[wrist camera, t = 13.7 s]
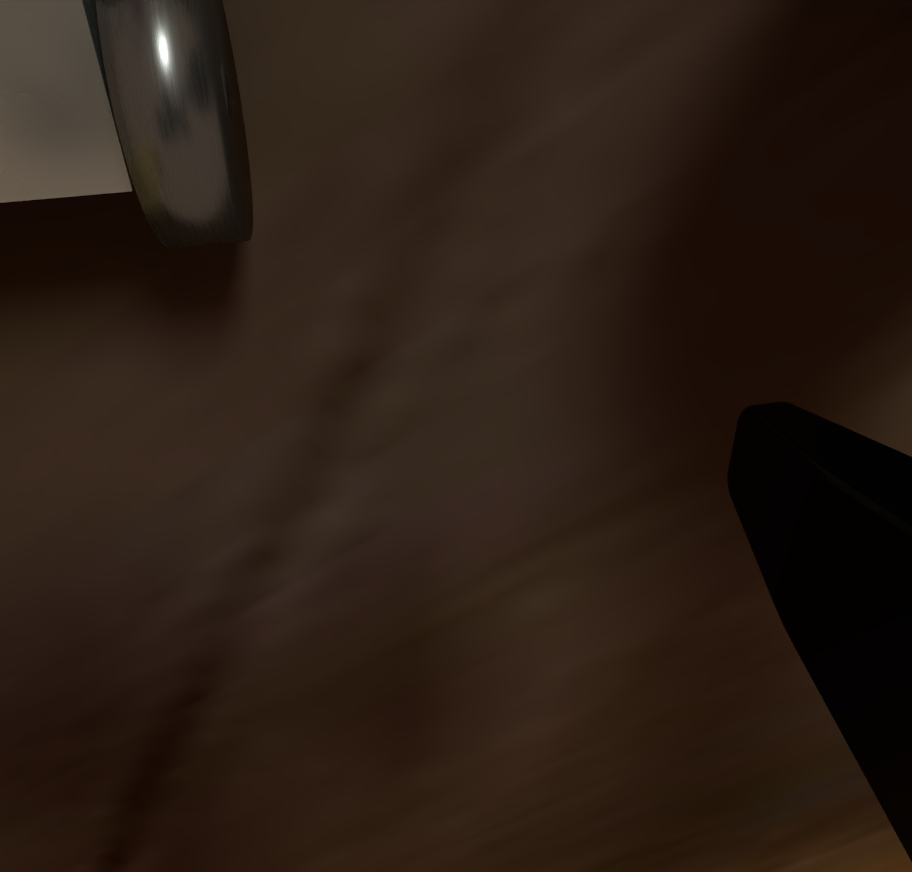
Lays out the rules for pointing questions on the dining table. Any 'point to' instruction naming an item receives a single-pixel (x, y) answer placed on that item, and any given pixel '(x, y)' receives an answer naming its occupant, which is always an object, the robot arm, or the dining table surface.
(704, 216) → the dining table surface
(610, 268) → the dining table surface
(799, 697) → the dining table surface
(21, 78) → the trolley
